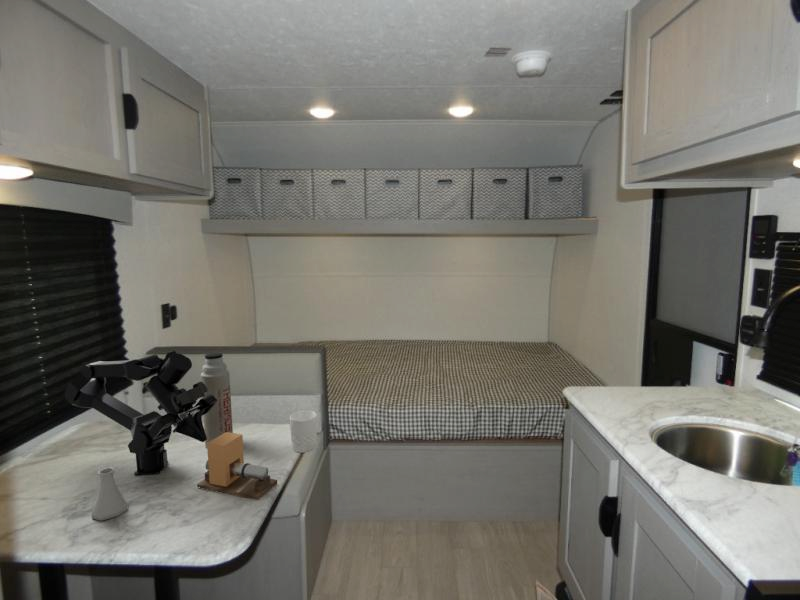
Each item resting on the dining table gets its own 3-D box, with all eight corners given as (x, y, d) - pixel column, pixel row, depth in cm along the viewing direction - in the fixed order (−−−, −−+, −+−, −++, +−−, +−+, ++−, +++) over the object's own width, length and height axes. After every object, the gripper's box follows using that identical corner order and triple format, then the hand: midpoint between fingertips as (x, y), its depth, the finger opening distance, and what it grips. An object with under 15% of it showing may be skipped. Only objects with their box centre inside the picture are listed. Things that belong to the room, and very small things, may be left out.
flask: (121, 499, 111) (117, 460, 110) (133, 510, 107) (130, 469, 105) (86, 513, 106) (82, 471, 104) (98, 525, 101) (93, 482, 100)
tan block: (209, 483, 115) (207, 443, 114) (228, 470, 122) (226, 432, 120) (226, 486, 114) (223, 445, 112) (244, 473, 120) (242, 434, 119)
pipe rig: (197, 487, 116) (195, 464, 115) (219, 472, 123) (217, 450, 123) (258, 500, 110) (256, 475, 109) (277, 483, 118) (276, 460, 117)
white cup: (291, 455, 133) (289, 422, 132) (290, 444, 141) (288, 412, 139) (319, 452, 135) (317, 419, 134) (316, 440, 143) (315, 409, 141)
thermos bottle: (238, 442, 142) (233, 353, 138) (214, 452, 136) (208, 358, 132) (223, 436, 147) (218, 349, 143) (200, 445, 140) (193, 354, 137)
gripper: (153, 386, 109) (194, 436, 107) (209, 365, 127) (245, 409, 125) (131, 414, 113) (170, 464, 111) (188, 391, 130) (223, 433, 128)
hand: (205, 440), depth 118 cm, fingers closed
